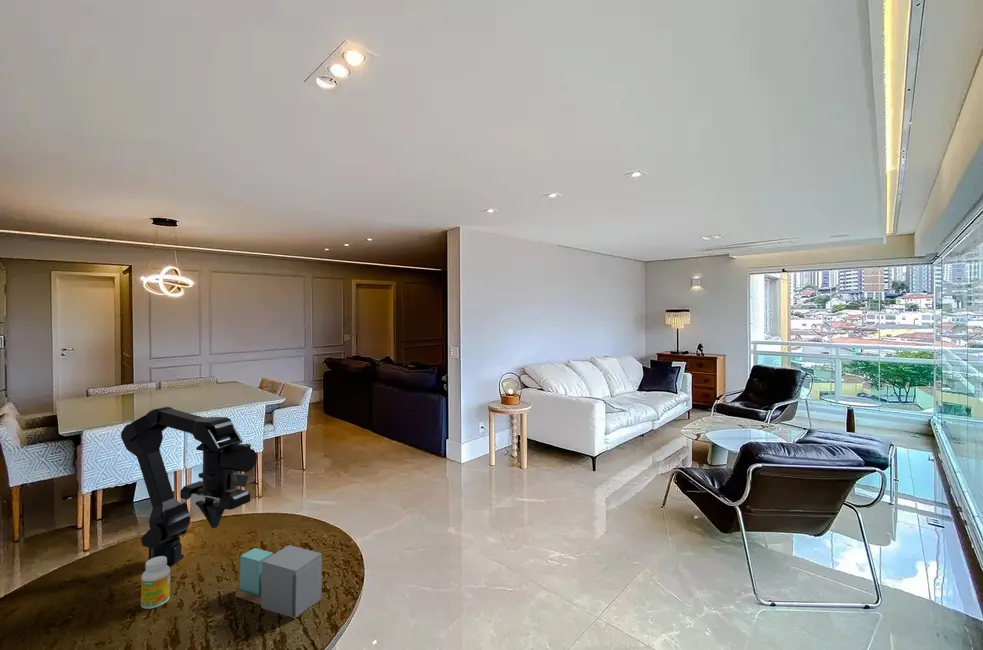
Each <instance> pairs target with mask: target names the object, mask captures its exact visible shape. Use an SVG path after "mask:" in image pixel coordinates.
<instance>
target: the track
mask: <svg viewBox="0 0 983 650" xmlns="http://www.w3.org/2000/svg"><path fill="white" fill-rule="evenodd" d="M235 597H236V598H239V599H242V600H244V601H248V602H251V603H254V604H257V605H260V606H261V597H260V596H257V595H254V594H251V593H247V592H244V591H241V590H240V589H238V590H236V591H235Z"/></svg>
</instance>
